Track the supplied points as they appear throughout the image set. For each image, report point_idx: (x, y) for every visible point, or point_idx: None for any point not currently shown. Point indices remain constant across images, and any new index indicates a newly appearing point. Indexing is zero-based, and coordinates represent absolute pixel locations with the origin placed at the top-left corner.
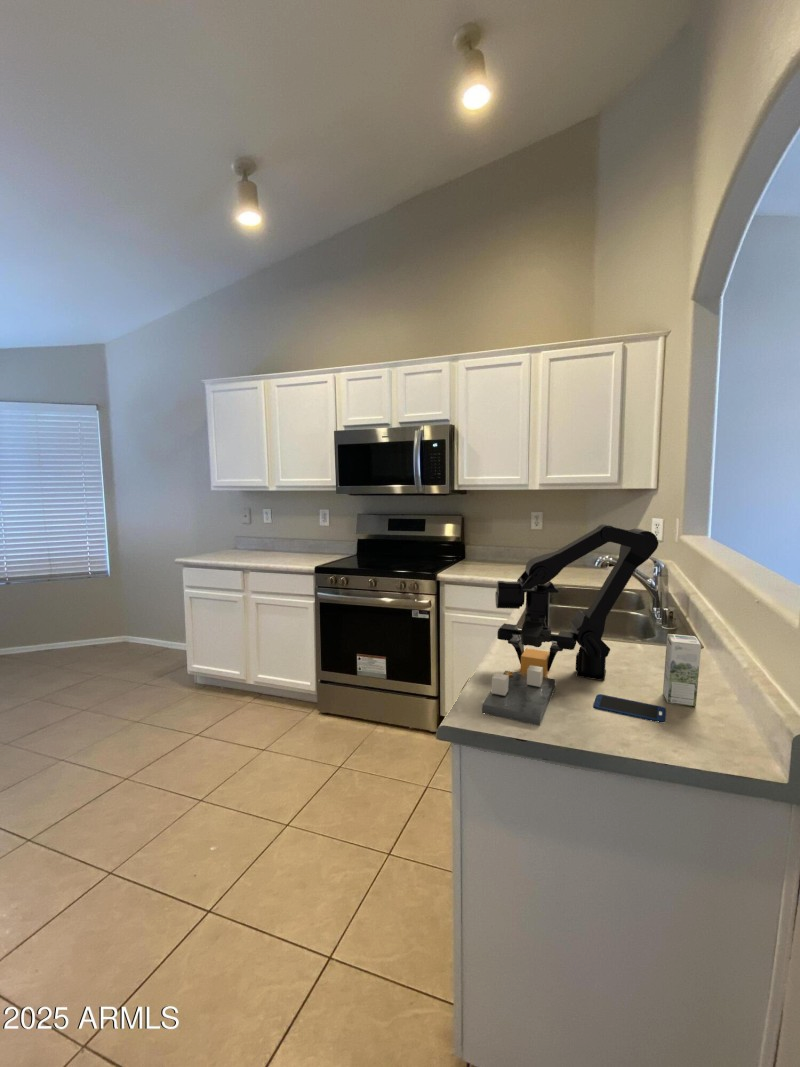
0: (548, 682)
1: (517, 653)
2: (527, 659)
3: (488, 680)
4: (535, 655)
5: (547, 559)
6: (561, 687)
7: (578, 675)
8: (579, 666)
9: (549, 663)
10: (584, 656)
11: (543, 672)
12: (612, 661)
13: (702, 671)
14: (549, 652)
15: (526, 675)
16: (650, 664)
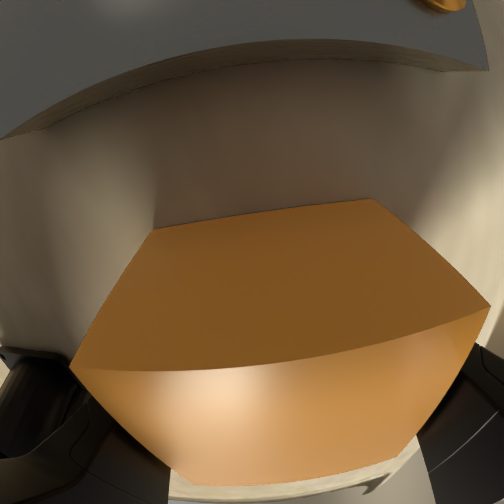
0: (21, 29)
1: (490, 355)
2: (387, 305)
3: (490, 22)
4: (287, 431)
5: None
6: (22, 164)
7: (54, 356)
8: (58, 404)
9: None
10: (15, 441)
11: (154, 254)
12: None
13: None
14: (193, 481)
15: (272, 6)
16: None
